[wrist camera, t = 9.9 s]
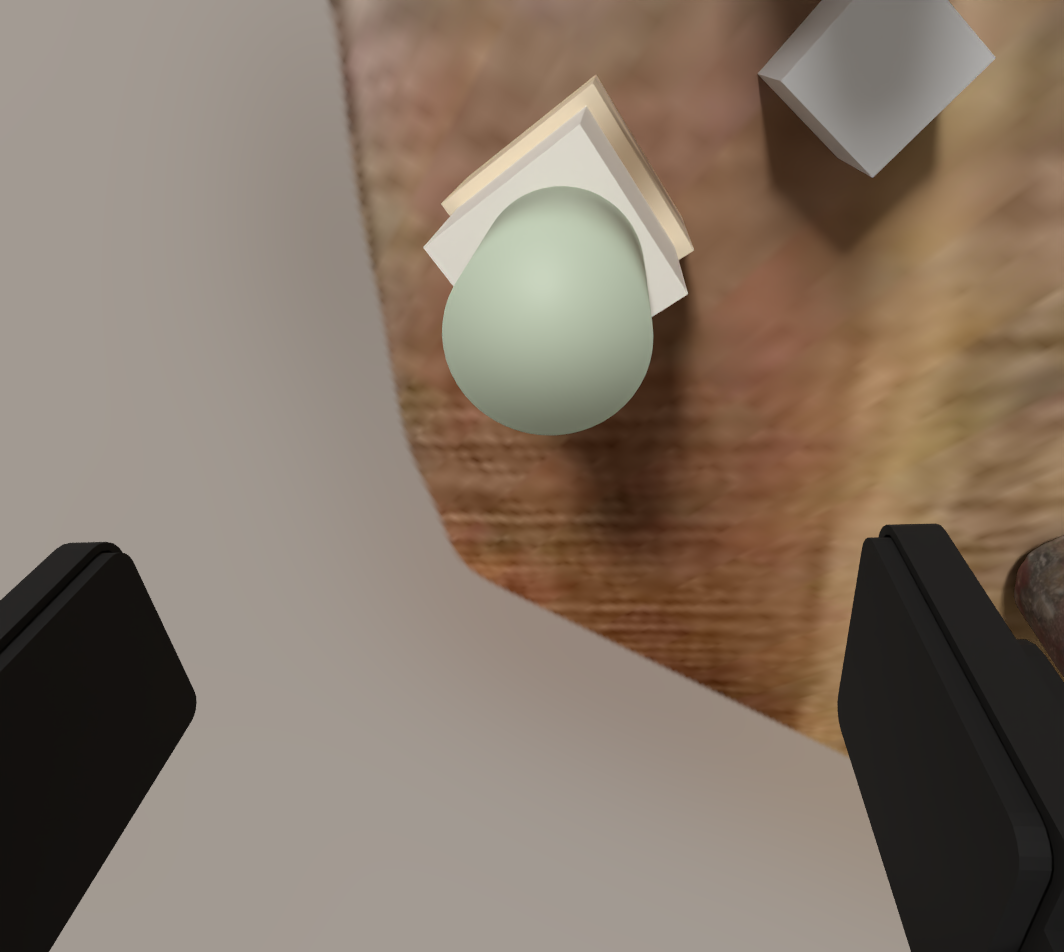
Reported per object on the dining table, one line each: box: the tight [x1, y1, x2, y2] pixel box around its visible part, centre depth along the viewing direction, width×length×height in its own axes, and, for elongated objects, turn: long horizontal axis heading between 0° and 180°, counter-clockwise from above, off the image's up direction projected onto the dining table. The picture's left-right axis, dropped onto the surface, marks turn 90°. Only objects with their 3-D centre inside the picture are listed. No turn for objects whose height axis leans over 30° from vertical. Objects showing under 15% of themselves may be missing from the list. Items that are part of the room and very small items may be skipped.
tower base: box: [441, 75, 694, 260], centre depth 31 cm, size 7×7×6 cm
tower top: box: [423, 105, 688, 317], centre depth 26 cm, size 6×6×6 cm
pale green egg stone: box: [442, 186, 653, 435], centre depth 21 cm, size 5×5×6 cm
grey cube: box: [758, 0, 995, 178], centre depth 28 cm, size 5×5×5 cm
